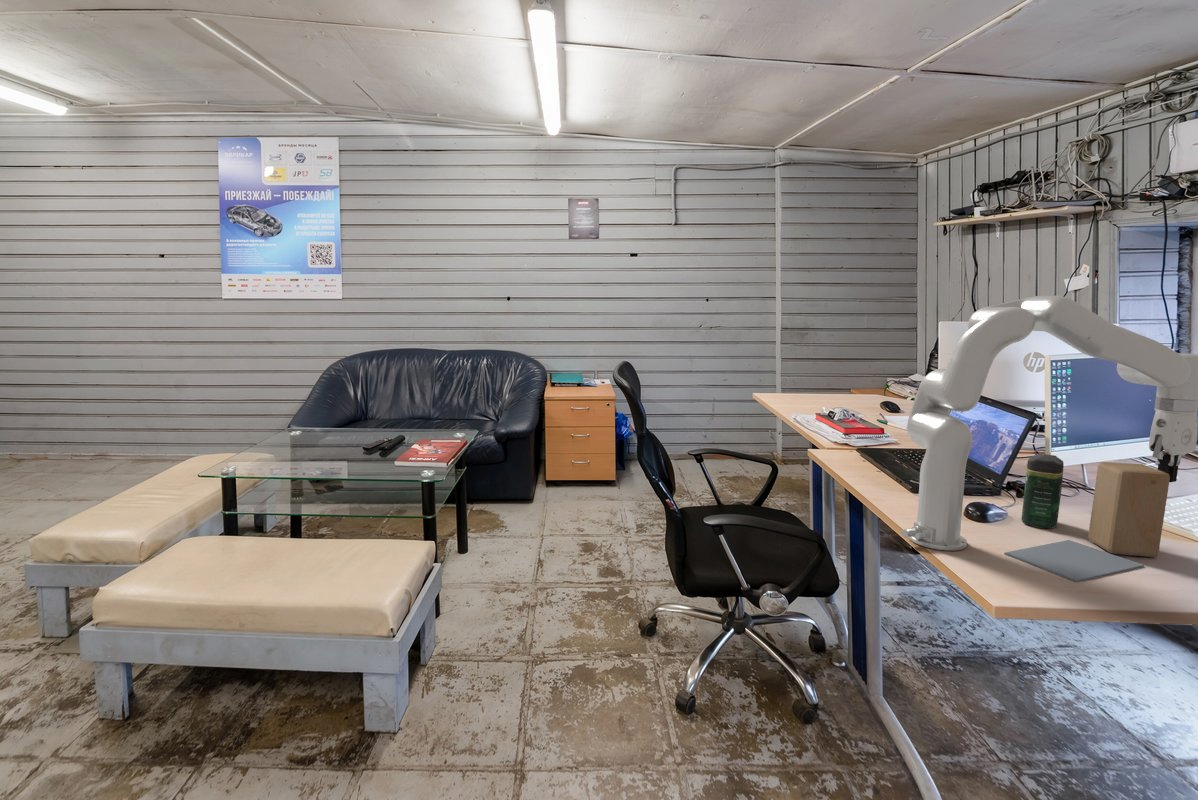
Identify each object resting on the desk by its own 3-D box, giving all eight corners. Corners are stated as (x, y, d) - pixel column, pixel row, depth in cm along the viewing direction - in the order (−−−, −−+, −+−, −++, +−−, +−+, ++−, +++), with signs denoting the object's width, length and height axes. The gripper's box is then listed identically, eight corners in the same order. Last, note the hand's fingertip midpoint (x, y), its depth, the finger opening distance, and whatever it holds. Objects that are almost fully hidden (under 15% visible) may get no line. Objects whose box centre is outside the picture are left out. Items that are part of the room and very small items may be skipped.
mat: (1076, 582, 131) (1076, 580, 131) (1004, 554, 146) (1004, 552, 146) (1143, 566, 138) (1144, 564, 138) (1068, 541, 153) (1069, 539, 153)
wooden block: (1160, 558, 142) (1173, 473, 139) (1110, 554, 144) (1122, 470, 141) (1132, 543, 151) (1143, 463, 149) (1085, 539, 153) (1096, 460, 150)
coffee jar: (1056, 531, 159) (1064, 461, 157) (1019, 525, 164) (1026, 457, 162) (1058, 521, 167) (1065, 454, 164) (1023, 515, 172) (1029, 450, 169)
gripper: (1175, 410, 141) (1165, 488, 144) (1215, 406, 146) (1204, 481, 149) (1137, 405, 148) (1128, 479, 151) (1176, 401, 153) (1167, 473, 156)
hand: (1166, 480), depth 150 cm, fingers closed
